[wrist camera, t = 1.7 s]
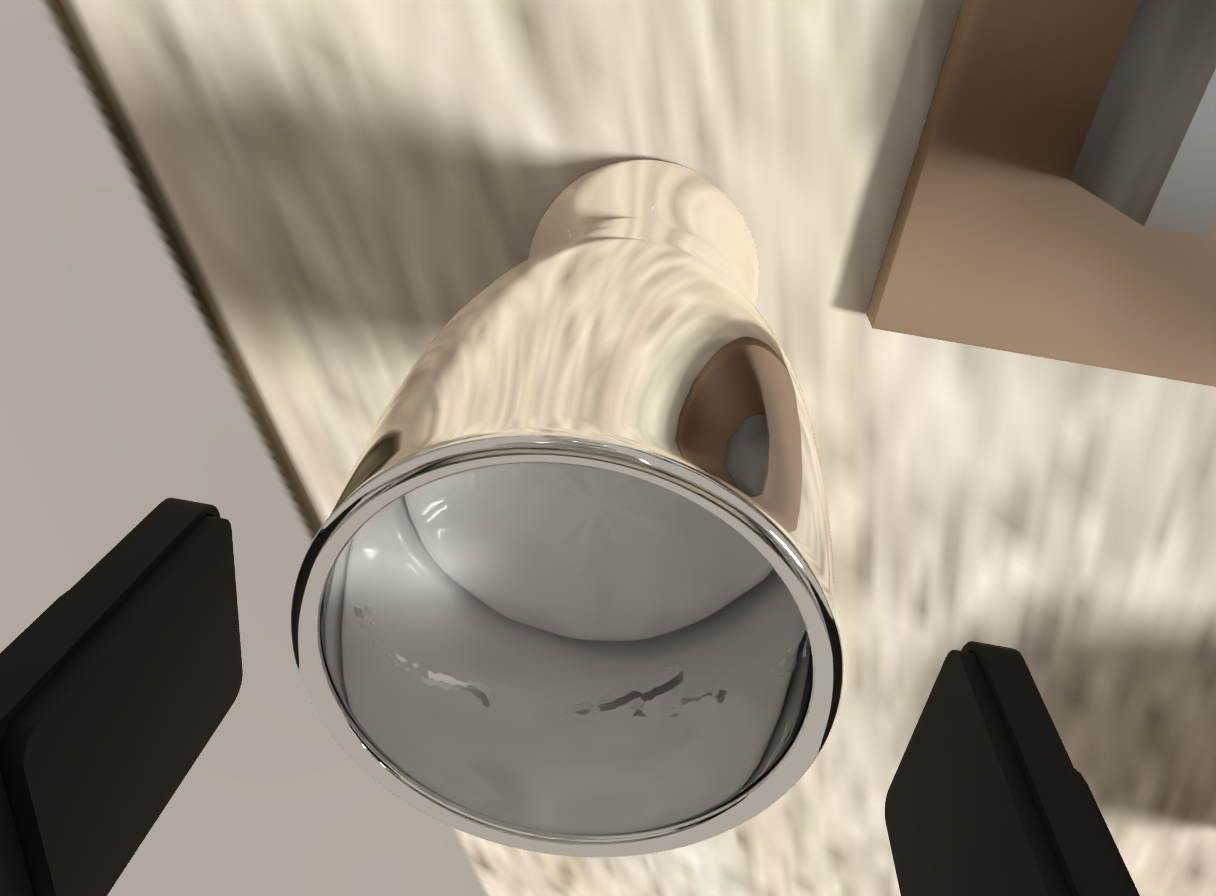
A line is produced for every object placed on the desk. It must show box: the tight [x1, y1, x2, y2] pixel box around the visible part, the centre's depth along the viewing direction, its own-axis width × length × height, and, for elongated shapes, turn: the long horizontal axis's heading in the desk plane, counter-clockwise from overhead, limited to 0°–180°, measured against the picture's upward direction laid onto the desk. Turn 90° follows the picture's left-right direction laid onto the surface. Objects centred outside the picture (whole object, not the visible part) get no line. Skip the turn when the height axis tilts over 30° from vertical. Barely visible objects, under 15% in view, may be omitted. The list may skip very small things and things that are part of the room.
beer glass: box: [291, 160, 843, 857], centre depth 17 cm, size 7×7×15 cm
